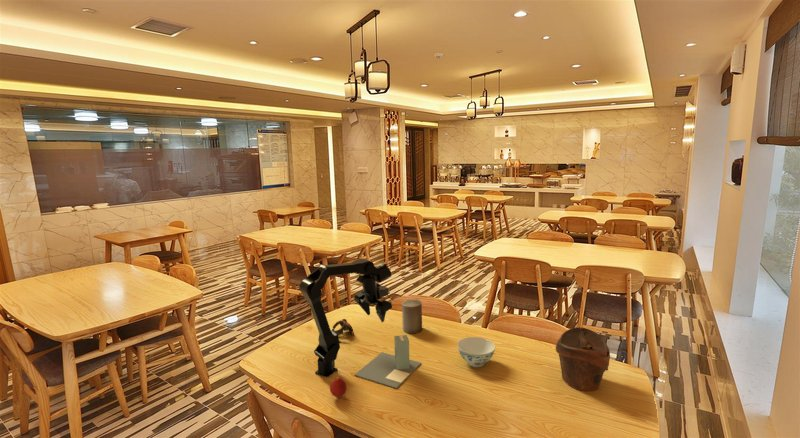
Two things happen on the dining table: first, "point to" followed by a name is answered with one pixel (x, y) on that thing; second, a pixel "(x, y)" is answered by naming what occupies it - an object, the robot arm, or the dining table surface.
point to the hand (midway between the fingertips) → (375, 318)
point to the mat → (386, 371)
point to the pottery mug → (343, 327)
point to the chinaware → (476, 350)
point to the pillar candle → (412, 316)
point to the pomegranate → (338, 387)
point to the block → (402, 352)
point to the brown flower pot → (582, 358)
